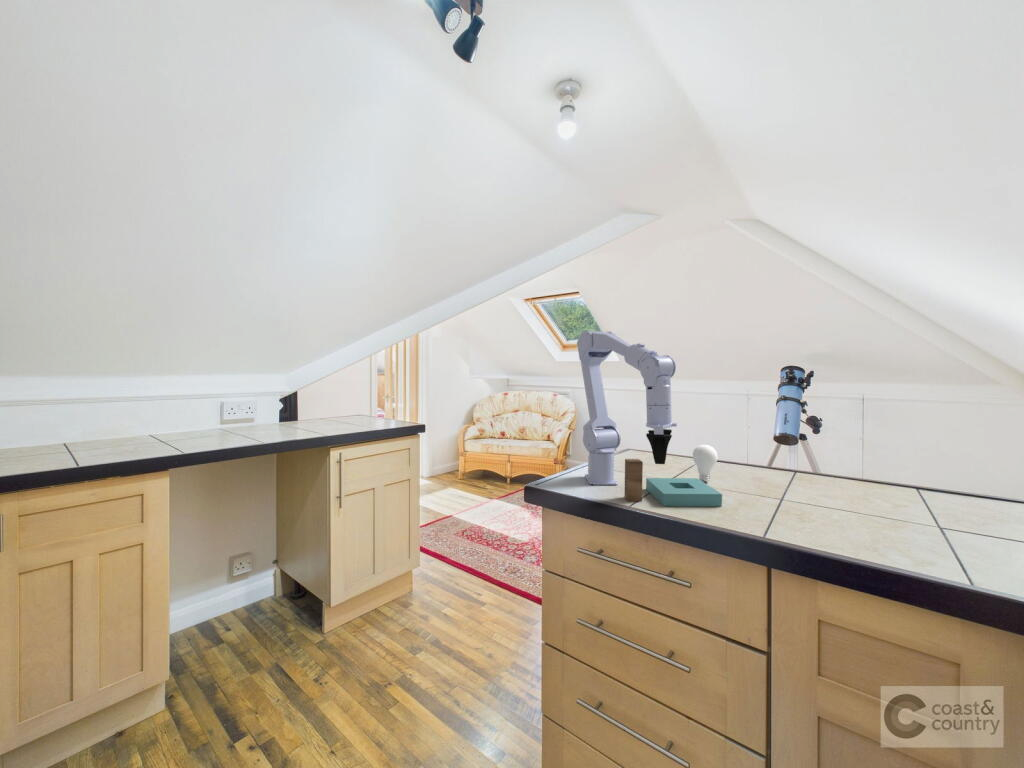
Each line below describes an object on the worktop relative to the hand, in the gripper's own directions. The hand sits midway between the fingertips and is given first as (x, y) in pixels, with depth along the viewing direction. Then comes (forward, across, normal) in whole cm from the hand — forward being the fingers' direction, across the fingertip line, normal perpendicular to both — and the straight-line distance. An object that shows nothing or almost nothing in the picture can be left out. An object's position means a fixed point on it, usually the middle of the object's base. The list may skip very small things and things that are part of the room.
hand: (660, 461), depth 102 cm
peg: (+10, +3, +7) cm, 13 cm away
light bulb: (+10, +26, -11) cm, 30 cm away
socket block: (+11, +9, -5) cm, 15 cm away
